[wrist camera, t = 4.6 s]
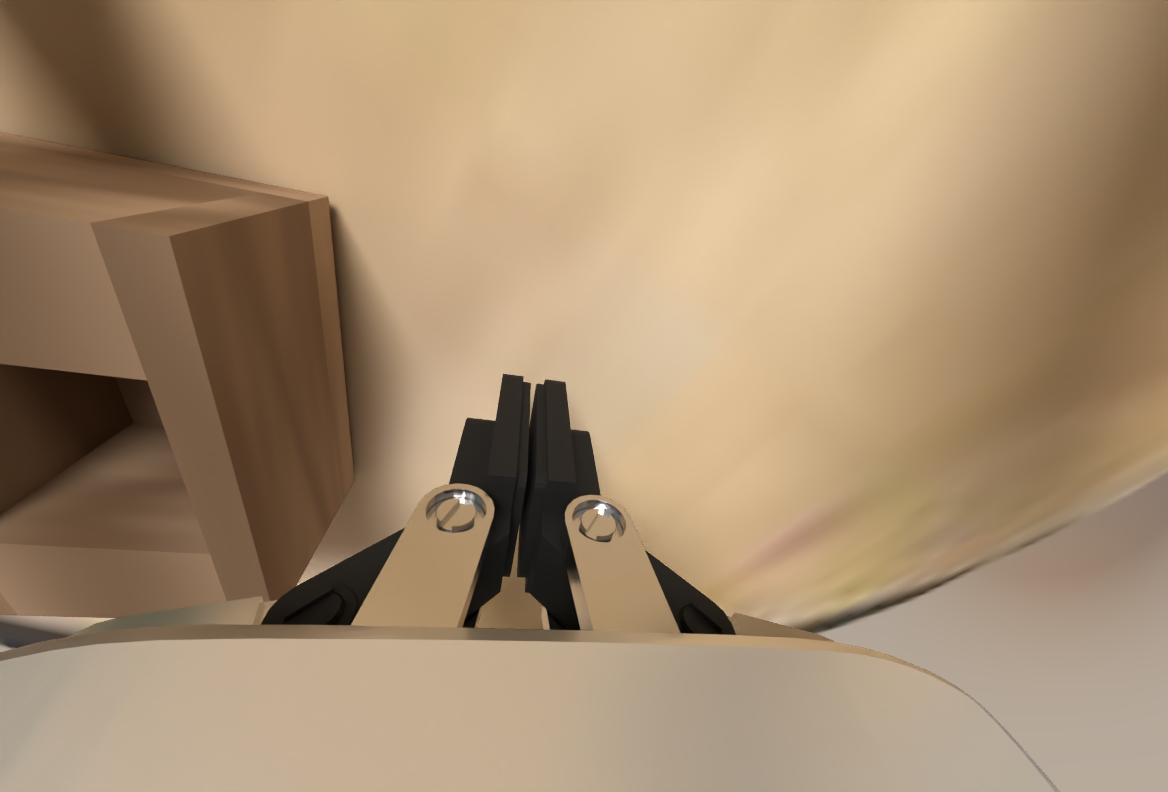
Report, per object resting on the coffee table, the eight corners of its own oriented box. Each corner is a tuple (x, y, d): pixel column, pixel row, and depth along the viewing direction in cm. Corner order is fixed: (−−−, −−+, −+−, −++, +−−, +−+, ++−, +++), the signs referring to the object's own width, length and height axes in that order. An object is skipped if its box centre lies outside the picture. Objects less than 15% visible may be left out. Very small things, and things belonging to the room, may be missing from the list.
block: (328, 196, 10) (168, 235, 6) (354, 480, 14) (275, 622, 10) (-164, 100, 8) (-904, 54, 4) (37, 453, 13) (-217, 609, 8)
